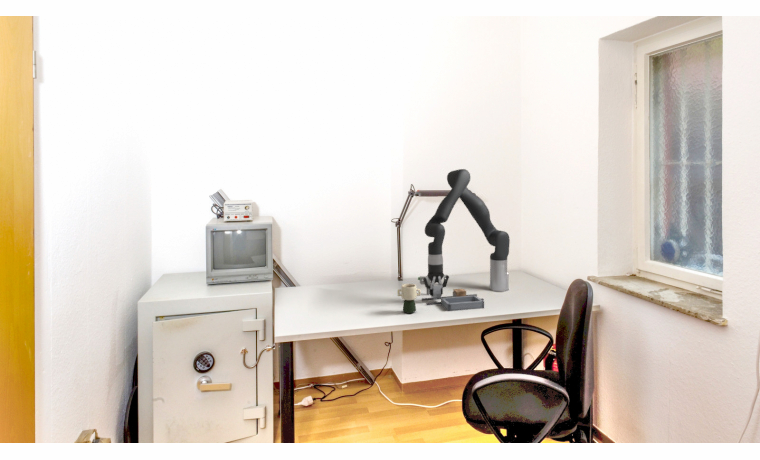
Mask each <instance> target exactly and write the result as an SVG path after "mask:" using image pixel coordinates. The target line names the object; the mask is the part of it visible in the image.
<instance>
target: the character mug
mask: <svg viewBox="0 0 760 460" xmlns="http://www.w3.org/2000/svg"><path fill="white" fill-rule="evenodd" d="M421 292H422V291H421V289H420V288H417V285H416V284H415V283H414V284H413V283H405V284H401V288H400V289H397V296H398V297H401V298H402V299H403V306H402V311H403V312H404V313H407V314H413V313H416V312H417V307H416V302H415V300H416V299H417V297H419V296H421V294H422V293H421ZM400 293H401V294H400Z"/></svg>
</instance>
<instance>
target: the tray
mask: <svg viewBox="0 0 760 460" xmlns="http://www.w3.org/2000/svg"><path fill="white" fill-rule="evenodd" d="M481 299H482V298H480V297H478V295H477V296H475V295H474V296H461V297H449V298H441V299H440V302H441V304H440V305H441V306H442V307H443V308H444V309H445V310H446V311H447V312H455V311H468V310H479V309H485V301H483V300H481Z"/></svg>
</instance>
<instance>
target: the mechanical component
mask: <svg viewBox="0 0 760 460" xmlns="http://www.w3.org/2000/svg"><path fill="white" fill-rule="evenodd" d="M422 277H426V276H423V275H422V276H418V278H417V280H418V281H419V284H420V285H424V286H425V284H424V281H423V278H422ZM427 283H428V285H430V279H429V278H428V280H427ZM434 284H436V283H434ZM425 288H426V286H425ZM426 295H427V296H430V294H429V289H428V288H426Z"/></svg>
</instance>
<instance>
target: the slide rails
mask: <svg viewBox="0 0 760 460" xmlns="http://www.w3.org/2000/svg"><path fill="white" fill-rule="evenodd" d="M474 295H475V296H477V297H478V294H477V293H473V294H466V296H474ZM449 297H453V295H451V296H450V295H448V296H447V295H446V296H441V298H449ZM480 299H481V300H483V301H484V298H480ZM436 300H438V299H433V298H431V297H426V298H425V297H424V298H421V301H422V302H423V301H435V302H426V306H434V305H441V301H436ZM484 302H485V301H484Z"/></svg>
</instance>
